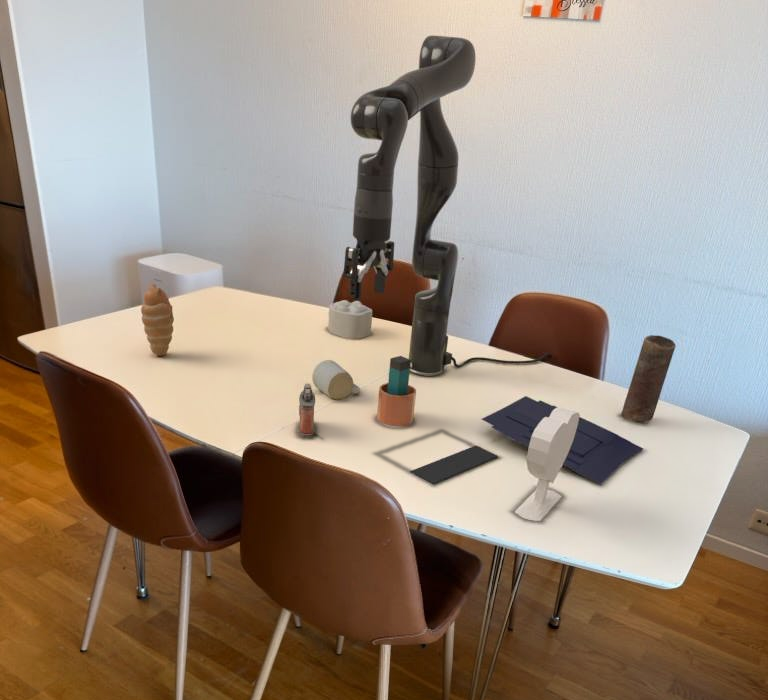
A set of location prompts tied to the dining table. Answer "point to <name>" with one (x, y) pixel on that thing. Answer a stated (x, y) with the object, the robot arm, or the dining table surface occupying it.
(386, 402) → the pen cup
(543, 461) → the heart sculpture
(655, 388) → the brown hollow cylinder
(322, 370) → the ceramic mug
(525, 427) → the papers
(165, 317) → the ridged brown croissant
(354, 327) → the lumpy-topped squat cylinder
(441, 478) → the mat
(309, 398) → the lighter
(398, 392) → the block
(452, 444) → the dining table surface
